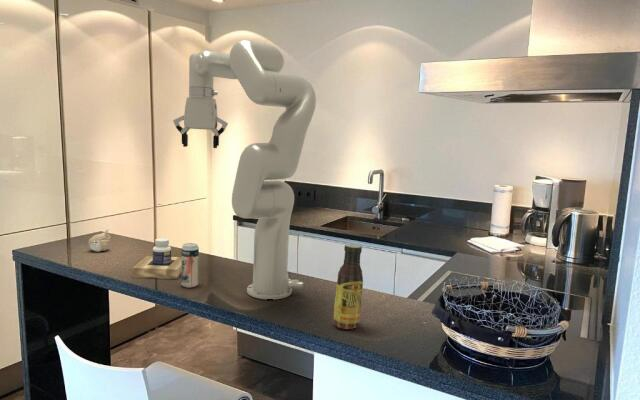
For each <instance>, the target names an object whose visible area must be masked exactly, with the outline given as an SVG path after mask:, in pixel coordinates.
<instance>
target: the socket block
mask: <svg viewBox="0 0 640 400" xmlns="http://www.w3.org/2000/svg"><path fill="white" fill-rule="evenodd" d="M131 270H132V278H134V279H156V278H157V279H159V280H160V279H161V280H163V279H165V280H178V279H179V278H180V277H181V271H182V256H181V257H180V256H171V265H170V266H157V265H153V255H146V256H145V257H144V258H143V259H141V260H140V261H139V262H138V263H137V264H135V265H134V266H133V267H132V269H131ZM157 279H156V280H157Z"/></svg>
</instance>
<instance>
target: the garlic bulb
mask: <svg viewBox="0 0 640 400" xmlns="http://www.w3.org/2000/svg"><path fill="white" fill-rule="evenodd" d="M109 231H110V230H109V228H108V229H106V230H105V231H104V232H102V233H98V234H94V235H92V236H91V237H90V238H89V240H88V243H87V244H88V247H89V249H90V250H92V251H93V252H97V253H98V252H103V251H104V252H105V251H107V250H108V249H109V248H110V246H111V235H110V234H109V233H108V232H109Z"/></svg>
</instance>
